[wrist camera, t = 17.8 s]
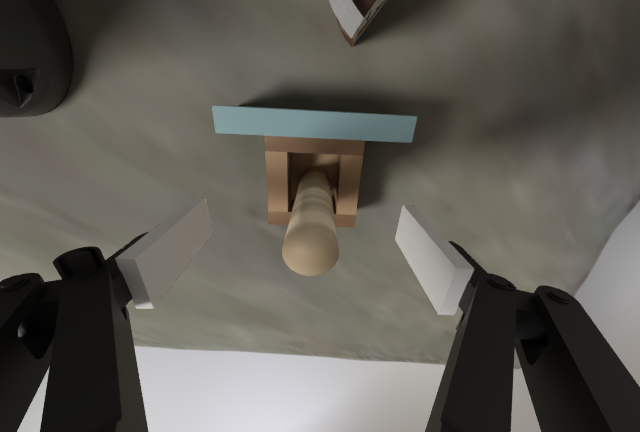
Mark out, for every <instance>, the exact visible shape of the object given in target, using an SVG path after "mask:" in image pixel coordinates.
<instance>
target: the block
mask: <svg viewBox="0 0 640 432" xmlns="http://www.w3.org/2000/svg"><path fill="white" fill-rule="evenodd" d="M264 140H265V159H266V178H267V197H268V216H269V224H278V225H289V221H290V218H291V214H292V210H293V206H294V202H295V198H296V195H297V191H298V187H299V183H300V179H301V176H302V174H303V172H304V171H305V170H307V169H308V168H311V167H318V168H321V169H323V170H324V171H325V172H326V173H327V174H328V177H329V182H330V190H331V197H332V205H333V212H334V220H335V227H349V228H354V225H355V217H356V209H357V202H358V194H359V186H360V178H361V170H362V162H363V155H364V147H365V141H363V140H344V139H324V138H304V137H285V136H265V135H264Z"/></svg>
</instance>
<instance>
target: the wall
mask: <svg viewBox="0 0 640 432" xmlns="http://www.w3.org/2000/svg"><path fill="white" fill-rule="evenodd" d="M212 109H213V117H214V124H215V131H216V133H226V134H245V135H265V136H285V137H304V138H324V139H344V140H363V141H383V142H403V143H412V140H413V135H414V130H415V126H416V121H417V116H407V115H397V114H379V113H361V112H342V111H323V110H305V109H286V108H267V107H249V106H212Z"/></svg>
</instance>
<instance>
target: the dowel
mask: <svg viewBox="0 0 640 432" xmlns="http://www.w3.org/2000/svg"><path fill="white" fill-rule="evenodd" d="M282 255H283V259H284V261H285V263H286V264H287V266H288V267H289V268H290V269H292V270H293V271H295V272H296V273H299V274H302V275H307V276H315V275H320V274H323V273H325V272H327V271H329V270H330V269H331V268H332V267H333V266H334V265H335V263H336V262H337V259H338V255H339V250H338V242H337V235H336V227H335V220H334V212H333V205H332V197H331V190H330V182H329V177H328V174H327V173H326V172H325V171H324V170H323V169H321V168H318V167H311V168H308V169H307V170H305V171H304V172H303V174H302V176H301V179H300V183H299V187H298V191H297V195H296V198H295V202H294V206H293V210H292V214H291V218H290V221H289V225H288V229H287V233H286V237H285V240H284V244H283V249H282Z"/></svg>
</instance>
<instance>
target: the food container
mask: <svg viewBox="0 0 640 432" xmlns="http://www.w3.org/2000/svg"><path fill="white" fill-rule="evenodd" d="M329 1H330V4H331V7H332V9H333V11H334V13H335V15H336V18H337V22H338V25H339V27H340V30H341V32H342V33H343V35H344V37H345V39H346V40H347V41H348V43H349V44H350V45H351V47H352V46H353V45H354V43H355V42H356V41H357V39H358V38H359V37H360V35H361V34H362V33H363V31H364V30H365V29H366V27H367V26H368V25H369V23H370V22H371V21H372V19H373V18H374V17H375V15H376V14H377V13H378V12H379V10H380V9H381V8H382V6H383V5H384V4H385V2H386V1H387V0H329Z"/></svg>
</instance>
